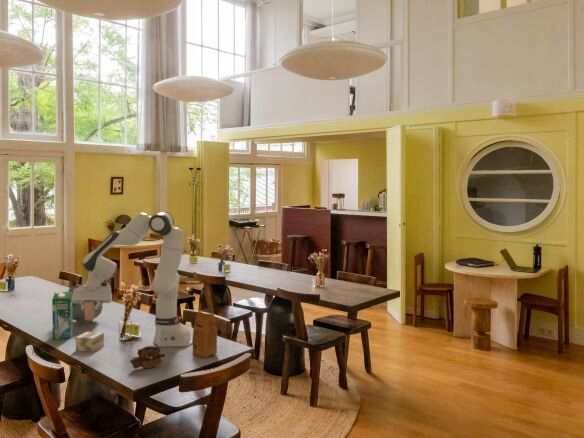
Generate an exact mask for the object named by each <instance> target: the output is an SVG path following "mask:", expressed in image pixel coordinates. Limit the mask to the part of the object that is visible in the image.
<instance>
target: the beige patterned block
mask: <svg viewBox="0 0 584 438" xmlns="http://www.w3.org/2000/svg"><path fill="white" fill-rule="evenodd" d="M104 334H105V333H104V332H96V331H95V332H94V331H84V332H83V333H81V334H79V335H77V336H75V351H76V352H77V351H78V352H90V351H91V353H94V352H96V351H97V350H99V349H101V348H102V347H104V346H105V344H104V343H105V341H104V340H105V339H104Z"/></svg>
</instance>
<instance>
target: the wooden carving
mask: <svg viewBox="0 0 584 438" xmlns="http://www.w3.org/2000/svg"><path fill="white" fill-rule="evenodd" d="M137 355H138V356H137V357H133V358H131V359H130V360H129V363H130V364H132V367H133V368H134V369H139V368H143V369H150V368H153V367H156V366H158V365H160V364H161V363H163V359H162V358H164V357H166V354H165V353H161V349H160V346H153V345H148V346H147V345H146V346H144V347H142V348H138V349H137Z"/></svg>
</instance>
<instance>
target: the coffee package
mask: <svg viewBox="0 0 584 438" xmlns="http://www.w3.org/2000/svg"><path fill="white" fill-rule="evenodd" d="M214 317H215V315H214V314H213V313H203V312H202V311H201V310H198V311H197V314H196V317H195V321H194V324H193V328H192V329H193V331H192V337H193V338H192V344H191V345H192V355H196V356H197V357H199V358H204V359H207V358H209V357H211V356H213V355H216V354H217V353H218V350H217V348H218V326H217V323H216V321H215V320H214Z"/></svg>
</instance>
